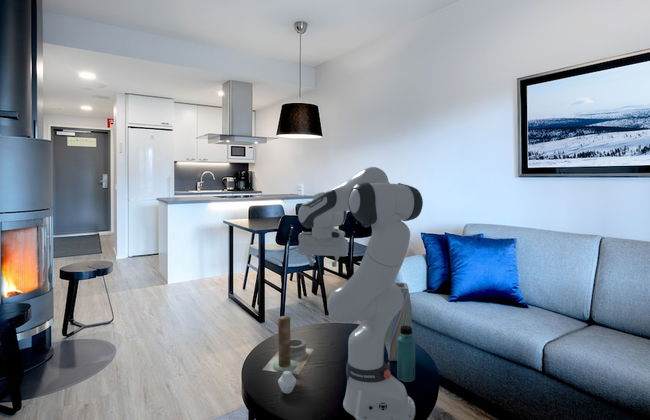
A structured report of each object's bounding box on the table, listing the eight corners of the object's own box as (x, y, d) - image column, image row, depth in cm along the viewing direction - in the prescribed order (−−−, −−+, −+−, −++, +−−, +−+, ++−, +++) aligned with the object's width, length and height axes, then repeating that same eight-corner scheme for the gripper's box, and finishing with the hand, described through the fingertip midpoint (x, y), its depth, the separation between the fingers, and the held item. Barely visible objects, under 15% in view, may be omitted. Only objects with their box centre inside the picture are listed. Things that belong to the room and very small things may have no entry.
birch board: (314, 352, 158) (314, 339, 158) (298, 378, 137) (298, 363, 136) (282, 349, 161) (282, 336, 161) (262, 373, 140) (262, 359, 140)
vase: (413, 366, 146) (414, 290, 144) (378, 364, 147) (378, 289, 145) (409, 351, 159) (410, 281, 157) (377, 349, 161) (378, 280, 159)
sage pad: (299, 361, 146) (299, 360, 146) (292, 372, 138) (292, 371, 138) (277, 359, 149) (277, 358, 148) (269, 370, 140) (269, 368, 140)
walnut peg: (292, 362, 145) (291, 316, 144) (288, 368, 140) (287, 320, 139) (281, 361, 146) (280, 315, 145) (276, 366, 141) (276, 319, 140)
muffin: (289, 384, 133) (289, 365, 132) (300, 391, 128) (299, 371, 128) (274, 390, 128) (274, 370, 128) (285, 398, 124) (285, 377, 123)
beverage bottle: (415, 387, 131) (416, 331, 129) (396, 385, 132) (396, 329, 131) (414, 378, 137) (415, 324, 136) (396, 376, 138) (397, 322, 137)
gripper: (296, 232, 152) (296, 266, 153) (345, 234, 147) (345, 269, 148) (300, 230, 158) (300, 263, 159) (348, 232, 154) (348, 265, 154)
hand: (322, 266), depth 154 cm, fingers open, 8 cm apart
